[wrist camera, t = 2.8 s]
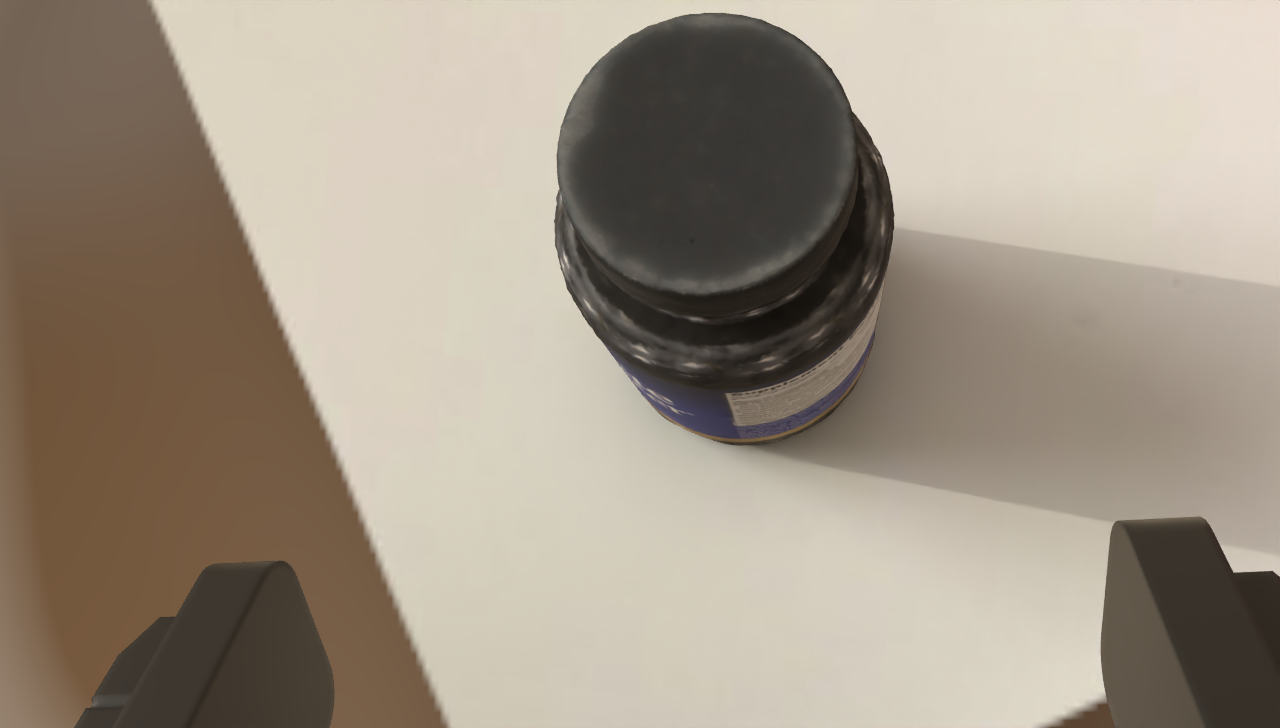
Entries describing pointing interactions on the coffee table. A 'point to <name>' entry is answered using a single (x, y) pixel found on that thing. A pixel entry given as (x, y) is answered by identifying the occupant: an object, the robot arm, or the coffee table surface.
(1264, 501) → the coffee table surface
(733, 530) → the coffee table surface
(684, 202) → the pill bottle
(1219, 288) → the coffee table surface
